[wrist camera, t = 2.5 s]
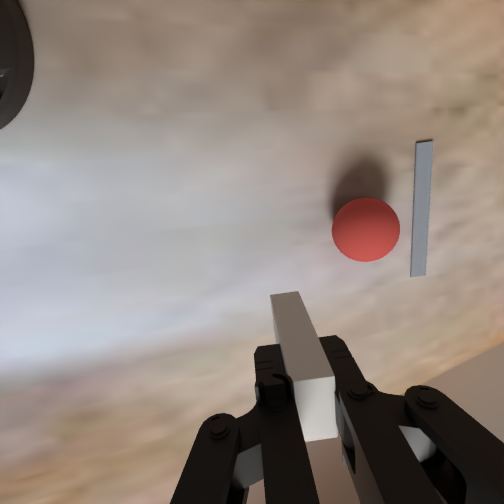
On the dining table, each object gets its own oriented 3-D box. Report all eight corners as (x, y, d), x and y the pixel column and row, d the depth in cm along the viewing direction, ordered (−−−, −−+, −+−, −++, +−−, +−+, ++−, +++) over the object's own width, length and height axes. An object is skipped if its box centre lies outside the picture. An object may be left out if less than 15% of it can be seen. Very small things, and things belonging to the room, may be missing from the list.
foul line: (415, 143, 30) (416, 143, 30) (432, 141, 30) (433, 141, 30) (410, 276, 35) (411, 277, 35) (424, 274, 35) (425, 275, 35)
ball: (323, 197, 31) (342, 208, 26) (382, 189, 31) (414, 199, 26) (326, 253, 33) (344, 275, 28) (381, 246, 33) (411, 266, 28)
